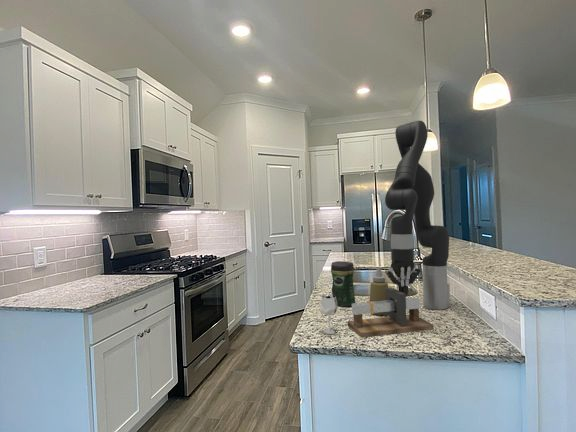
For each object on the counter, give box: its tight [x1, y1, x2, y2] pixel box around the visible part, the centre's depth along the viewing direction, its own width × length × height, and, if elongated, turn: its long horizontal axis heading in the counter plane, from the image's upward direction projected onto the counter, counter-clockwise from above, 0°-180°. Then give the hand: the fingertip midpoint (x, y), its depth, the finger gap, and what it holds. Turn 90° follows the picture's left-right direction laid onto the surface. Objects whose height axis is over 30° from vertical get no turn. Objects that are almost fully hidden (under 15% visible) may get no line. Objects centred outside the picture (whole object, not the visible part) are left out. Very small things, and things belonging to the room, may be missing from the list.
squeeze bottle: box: [369, 266, 389, 316], centre depth 135 cm, size 8×8×18 cm
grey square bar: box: [351, 297, 421, 315], centre depth 120 cm, size 24×4×4 cm, turn 102°
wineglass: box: [319, 294, 338, 335], centre depth 118 cm, size 6×6×12 cm
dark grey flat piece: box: [386, 286, 407, 324], centre depth 121 cm, size 2×10×10 cm, turn 12°
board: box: [347, 308, 435, 338], centre depth 120 cm, size 26×12×6 cm, turn 102°
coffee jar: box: [330, 260, 356, 307], centre depth 149 cm, size 10×8×19 cm
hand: (403, 296), depth 121 cm, fingers closed
